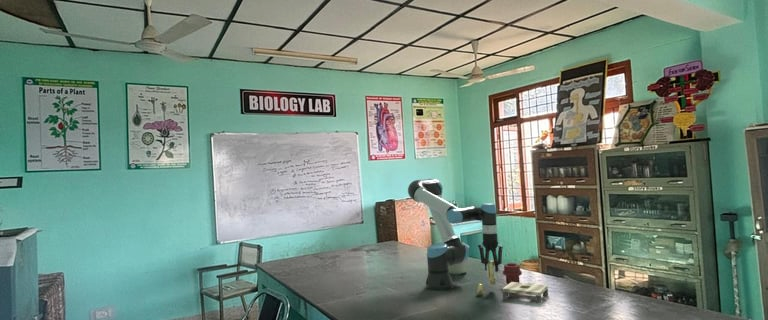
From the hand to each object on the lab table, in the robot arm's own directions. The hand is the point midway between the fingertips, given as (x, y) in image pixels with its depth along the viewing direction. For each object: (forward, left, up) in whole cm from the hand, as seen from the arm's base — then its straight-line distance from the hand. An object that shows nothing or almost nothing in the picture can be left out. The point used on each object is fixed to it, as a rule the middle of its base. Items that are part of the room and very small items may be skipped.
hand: (492, 277), depth 225 cm
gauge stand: (+18, -4, -7) cm, 20 cm away
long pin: (0, 0, -4) cm, 4 cm away
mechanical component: (+6, +13, -7) cm, 16 cm away
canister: (-36, +30, -7) cm, 47 cm away
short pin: (-4, -8, -7) cm, 11 cm away
